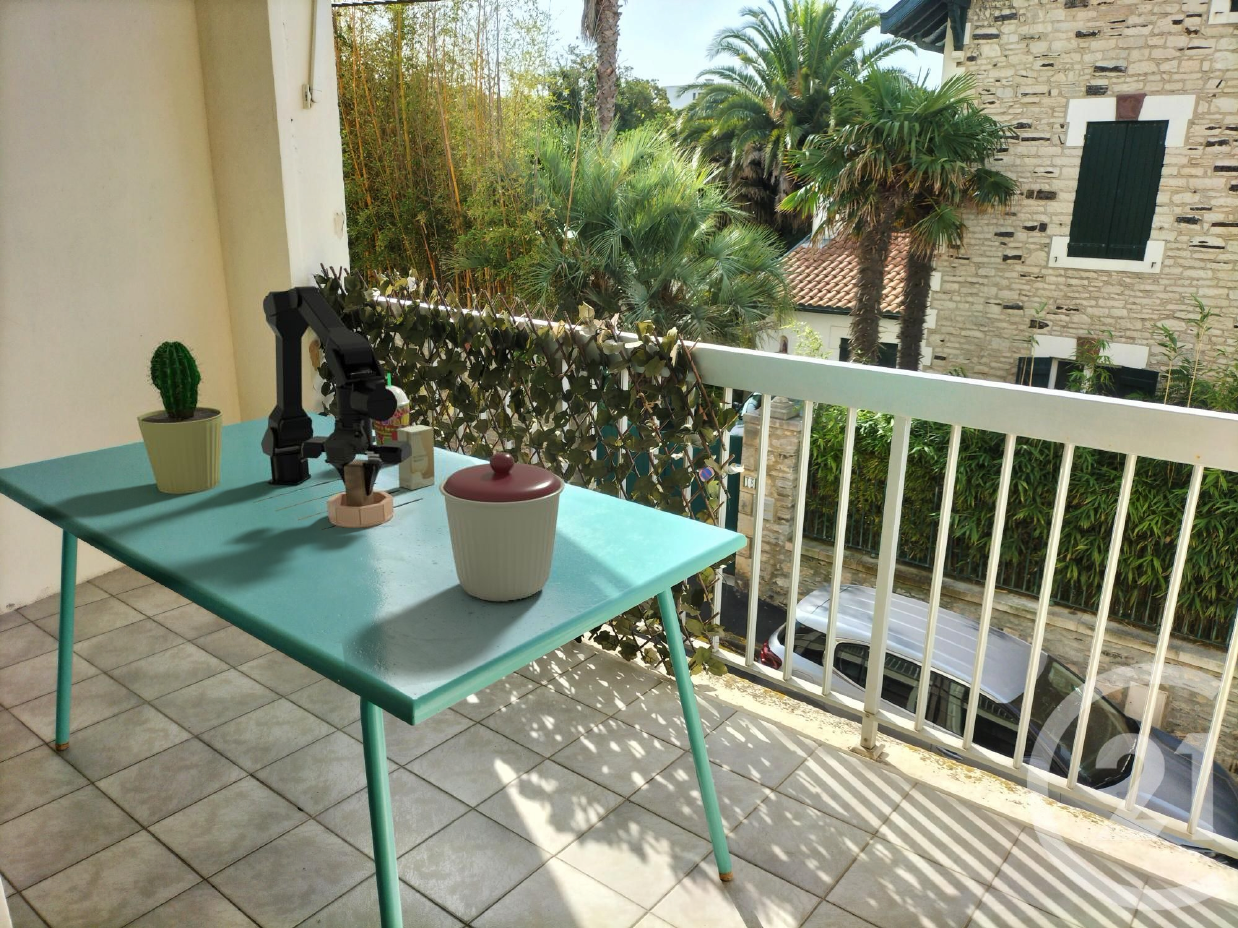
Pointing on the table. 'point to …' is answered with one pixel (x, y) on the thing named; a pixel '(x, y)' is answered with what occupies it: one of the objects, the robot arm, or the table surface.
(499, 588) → the canister
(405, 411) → the smoothie
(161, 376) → the potted cactus
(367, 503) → the tall tan cardboard carton
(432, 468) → the skincare box
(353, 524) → the peach octagonal dish
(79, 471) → the table surface
